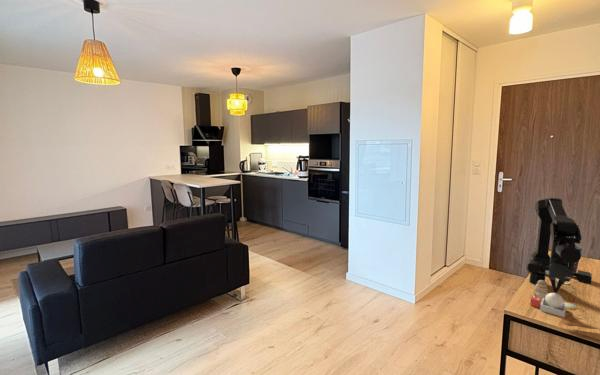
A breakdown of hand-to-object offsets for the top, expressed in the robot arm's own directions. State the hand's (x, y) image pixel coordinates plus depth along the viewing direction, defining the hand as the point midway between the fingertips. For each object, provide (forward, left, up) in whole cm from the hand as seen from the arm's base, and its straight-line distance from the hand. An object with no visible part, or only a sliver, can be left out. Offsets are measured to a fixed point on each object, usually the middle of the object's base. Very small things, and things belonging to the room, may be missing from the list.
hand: (555, 292), depth 122 cm
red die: (-2, -5, -8) cm, 10 cm away
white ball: (0, 0, -6) cm, 6 cm away
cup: (-44, +24, -8) cm, 51 cm away
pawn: (-10, -1, -7) cm, 12 cm away
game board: (-4, +2, -8) cm, 10 cm away
